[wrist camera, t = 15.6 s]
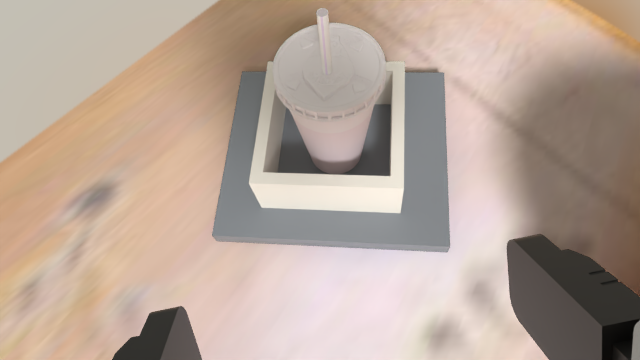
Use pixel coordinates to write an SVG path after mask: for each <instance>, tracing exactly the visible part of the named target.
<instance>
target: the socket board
mask: <svg viewBox="0 0 640 360" xmlns="http://www.w3.org/2000/svg"><path fill="white" fill-rule="evenodd" d="M272 68H273V61H268V65H267V71H266V72H242V75H241V81H240V86H239V92H238V97H237V103H236V108H235V113H234V119H233V124H232V130H231V135H230V141H229V146H228V151H227V157H226V162H225V168H224V173H223V179H222V184H221V189H220V195H219V200H218V206H217V211H216V217H215V222H214V227H213V233H212V236H213V237H214V238H215V239H216V241H226V242H246V243H267V244H287V245H308V246H329V247H349V248H370V249H391V250H411V251H432V252H448V250H449V248H450V234H449V204H448V175H447V146H446V117H445V87H444V73H420V72H405V62H386V81H385V85H384V89H383V91H382V93H381V94H380V96H379V98H378V99H377V101H376V102H375V104H374V107H373V111H372V115H371V119H370V123H369V126H368V130H367V134H366V138H365V142H364V146H363V149H362V153H361V157H360V160H359V162H358V163H357V165H356V166H355V167H354V168H353V169H351V170H350V171H348V172H345V173H342V174H329V173H326V172H323V171H321V170H320V169H318V168H317V167H316V166H315V164H314V163H313V161H312V159H311V157H310V154H309V152H308V150H307V148H306V145H305V143H304V141H303V139H302V136H301V134H300V132H299V130H298V127H297V125H296V123H295V121H294V118H293V116H292V114H291V112H290V110H289V109H288V108H287V107H286V106H284V104H283V103H282V101H281V100H280V99H279V97H278V96H277V93H276V90H275V86H274V78H273V72H272Z"/></svg>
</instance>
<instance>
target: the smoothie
mask: <svg viewBox="0 0 640 360" xmlns="http://www.w3.org/2000/svg"><path fill="white" fill-rule="evenodd" d="M316 15H317V24H316V25H312V26H309V27H306V28H304V29H302V30H299V31H298V32H296V33H294V34H293V35H292V36H290V37H289V38H288V39H287V40H286V41H285V42H284V43H283V44H282V45H281V46H280V48H279V49H278V51H277V53H276V55H275V58H274V61H273V68H272V72H273V78H274V86H275V90H276V93H277V96H278V97H279V99H280V100H281V101H282V103H283V104H284V106H286V107H287V108H288V109H289V110H290V112H291V114H292V116H293V118H294V121H295V123H296V125H297V127H298V130H299V132H300V134H301V136H302V139H303V141H304V143H305V145H306V148H307V150H308V152H309V154H310V157H311V159H312V161H313V163H314V164H315V166H316V167H317V168H318V169H320V170H321V171H323V172H326V173H329V174H342V173H345V172H348V171H350V170H351V169H353V168H354V167H355V166H356V165H357V163H358V162H359V160H360V157H361V153H362V149H363V146H364V142H365V138H366V134H367V130H368V126H369V123H370V119H371V115H372V111H373V107H374V104H375V102H376V101H377V99H378V98H379V96H380V94H381V93H382V91H383V89H384V85H385V81H386V60H385V56H384V53H383V50H382V48H381V46H380V45H379V44H378V42H377V41H376V40H375V39H374V38H373V37H372V36H371V35H370V34H368V33H367V32H365V31H363V30H362V29H360V28H357V27H355V26H352V25H348V24H343V23H329V17H328V10H327V9H325V8H320V9H318V10H317V12H316Z"/></svg>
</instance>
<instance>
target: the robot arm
mask: <svg viewBox="0 0 640 360" xmlns="http://www.w3.org/2000/svg"><path fill="white" fill-rule="evenodd" d="M507 260H508V275H509V290H510V299H511V304H512V307H513V310H514V312H515V315H516V317H517V318H518V320H519V322H520V323H521V324H522V325H523V327H524V328H525V329H526V331H527V332H528V333H529V334H530V336H531V337H532V338H533V340H534V341H535V342H536V343H537V345H538V346H539V347H540V349H541V350H542V351H543V352H544V354H545V355H546V356H547V358H548V359H549V360H640V297H639V296H638V295H637V294H635V293H634V292H633V291H632V290H630V289H629V288H628V287H626V286H625V285H624V284H623V283H621V282H618V279H616V278H615V277H614V276H612V275H611V274H610V273H609V272H605V269H604V268H602V267H601V266H600V265H598V264H597V263H596V262H595V261H593V260H592V259H591V258H589V257H587V256H584V255H582V254H579V253H577V252H574V251H572V250H569V249H567V250H562V251H561V250H560V249H559V248H558V247H557V246H555V245H554V244H553V243H552V242H551V241H549V240H548V239H547V238H546V237H545V236H543V235H541V234H537V235H532V236H527V237H522V238H517V239H513V240H509V241H508V244H507ZM112 360H202V358H201V355H200V352H199V349H198V346H197V343H196V339H195V336H194V333H193V330H192V327H191V324H190V321H189V318H188V315H187V312H186V310H185V309H184V308H183V307H182V306H180V307H175V308H170V309H165V310H160V311H155V312H151V313H150V314H149V316H148V318H147V320H146V322H145V325H144V327H143V329H142V331H141V334H140V336H136V337H131V338H130V339H129V340H128V341H127V342H126V343H125V344H124V345H123V346H122V347H121V348H120V349H119V350H118V351H117V352H116V353H115V355H114V357H113V359H112Z"/></svg>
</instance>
